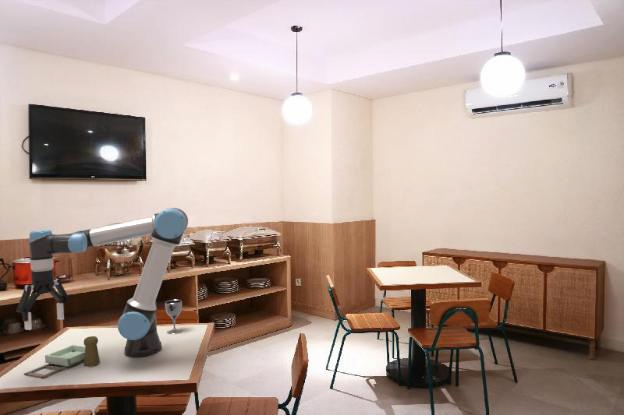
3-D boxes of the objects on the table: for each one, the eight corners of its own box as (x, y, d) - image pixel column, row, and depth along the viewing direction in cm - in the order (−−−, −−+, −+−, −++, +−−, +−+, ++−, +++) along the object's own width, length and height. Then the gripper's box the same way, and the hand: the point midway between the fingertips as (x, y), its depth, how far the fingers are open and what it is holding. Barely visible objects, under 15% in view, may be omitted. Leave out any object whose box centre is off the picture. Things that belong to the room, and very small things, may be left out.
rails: (94, 356, 185) (94, 355, 185) (44, 378, 163) (44, 376, 163) (75, 354, 189) (75, 352, 189) (23, 375, 167) (23, 373, 167)
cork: (93, 367, 173) (92, 339, 173) (79, 366, 174) (78, 339, 174) (103, 361, 179) (102, 334, 179) (90, 360, 180) (89, 334, 180)
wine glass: (168, 329, 220) (167, 300, 220) (184, 328, 221) (183, 299, 221) (164, 334, 213) (163, 303, 212) (181, 333, 213) (180, 303, 213)
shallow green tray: (95, 354, 184) (95, 347, 184) (68, 366, 172) (68, 358, 172) (73, 351, 189) (72, 344, 189) (45, 362, 177) (45, 355, 177)
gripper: (63, 264, 182) (66, 314, 183) (2, 275, 159) (6, 333, 159) (77, 264, 179) (79, 316, 180) (17, 276, 156) (20, 334, 157)
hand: (45, 324), depth 170 cm, fingers open, 13 cm apart
